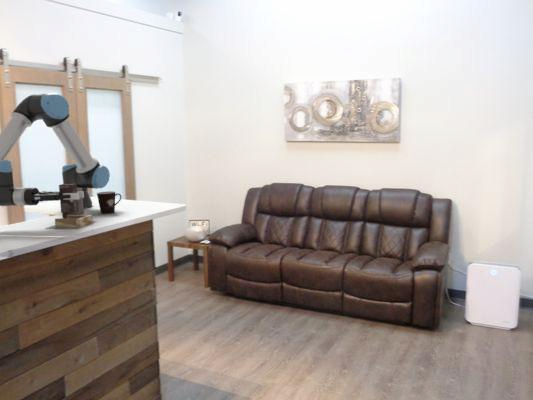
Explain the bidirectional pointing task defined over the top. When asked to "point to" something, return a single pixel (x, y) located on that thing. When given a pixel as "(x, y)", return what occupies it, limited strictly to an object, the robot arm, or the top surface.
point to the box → (68, 204)
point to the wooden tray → (74, 221)
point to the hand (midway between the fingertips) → (80, 195)
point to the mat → (66, 227)
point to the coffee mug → (107, 202)
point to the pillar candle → (80, 207)
